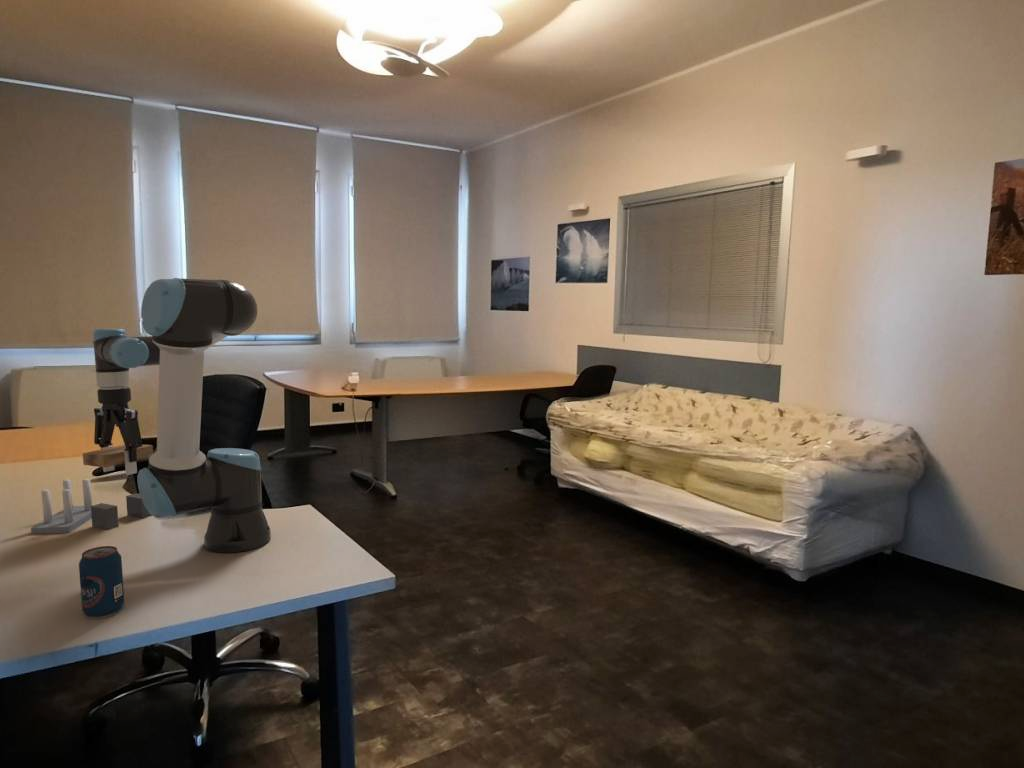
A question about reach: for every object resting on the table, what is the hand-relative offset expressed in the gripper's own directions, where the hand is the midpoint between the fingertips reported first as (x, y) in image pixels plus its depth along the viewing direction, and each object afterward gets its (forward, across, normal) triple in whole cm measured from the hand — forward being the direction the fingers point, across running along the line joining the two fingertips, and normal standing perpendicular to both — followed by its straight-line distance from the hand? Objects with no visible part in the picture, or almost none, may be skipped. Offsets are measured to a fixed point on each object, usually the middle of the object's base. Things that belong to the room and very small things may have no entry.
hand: (120, 472), depth 178 cm
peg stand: (+13, +13, +6) cm, 20 cm away
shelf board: (-3, 0, 0) cm, 3 cm away
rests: (+13, 0, 0) cm, 13 cm away
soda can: (+15, -45, +37) cm, 60 cm away
